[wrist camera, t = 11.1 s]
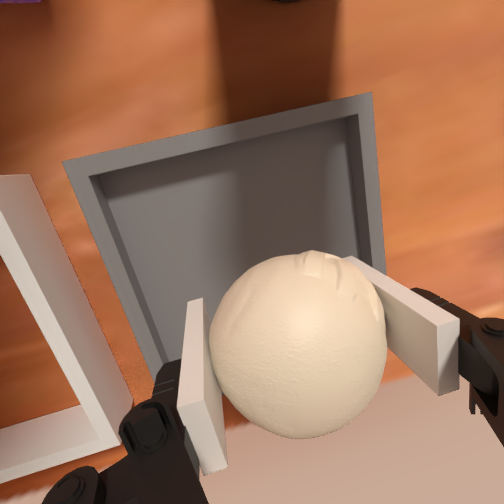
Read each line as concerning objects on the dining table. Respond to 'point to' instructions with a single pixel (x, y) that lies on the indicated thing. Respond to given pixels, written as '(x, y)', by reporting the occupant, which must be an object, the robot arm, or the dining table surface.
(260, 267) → the cream round ball
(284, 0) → the container
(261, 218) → the slate tray
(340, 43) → the dining table surface
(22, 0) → the sponges
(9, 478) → the light grey rectangular frame
